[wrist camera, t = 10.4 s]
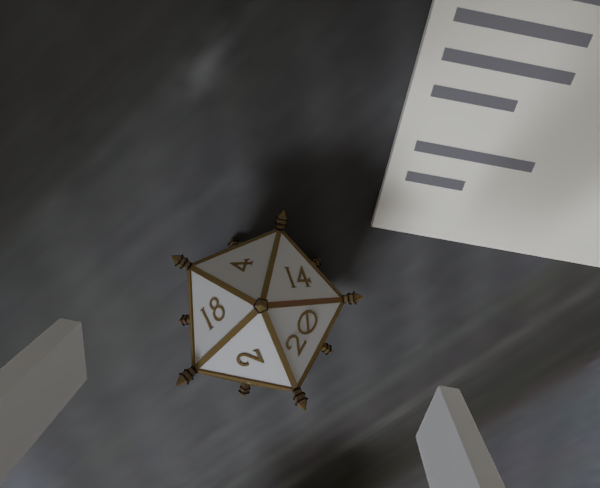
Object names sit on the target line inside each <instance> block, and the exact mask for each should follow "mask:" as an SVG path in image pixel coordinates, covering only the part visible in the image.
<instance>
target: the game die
mask: <svg viewBox="0 0 600 488" xmlns="http://www.w3.org/2000/svg"><path fill="white" fill-rule="evenodd" d="M276 218H277V220H276V222H275V223H276V229H274V230H272V231H269V232H267V233H264V234H262V235H259V236H257V237H255V238H252V239H250V240H247V241H245V242H242V243H240V244H238V240H233V239H231V240H230V243H229V244H228V245H229V246H230V248H228V249H225V250H223V251H220V252H218V253H216V254H213V255H211V256H208V257H206V258H203V259H201V260H199V261H196V262H194V263H190V262H189V260H188V258H185V257H183V254H182V255H171V256H172V258H173V260H174V262H175V266H179V267H180V269H181V268H184V269H187V272H188V294H189V315H187V314H186V315H182V317H181V318H180V320H179V322H180V323H182V324H183V326H184V325H186V324H187V325H188V324H190V338H191V360H192V366H191V368H189V369H184V372H182V373H179V378H178V381H177V384H176V386H177V385H183V384H189V381H190V380H191V379H192V380H193V377H194V375H195V374H196V373H201V374H205V375H209V376H214V377H218V378H222V379H226V380H230V381H235V382H239V383H242V385H241V386H240V389H239V392H240V393H241V395H242V396H243V397H244V396H245V395H247V394H249V393H250V392H249V390H250V385H254V386H261V387H267V388H274V389H280V390H287V391H292V392H293V393H294V398H293V400H295V402H296V404H295V405H297V406H299V407H300V408H302V409H303V410H305V411H306V404H307V400H308V398H306V397H305V393H304V392H302V390H301V388H300V387H301V385H302V383H303V381H304V380H305V378H306V376H307V374H308V372H309V370H310V369H311V367H312V365H313V363H314V361H315V359H316V358H317V356H318V354H319V352H320V350H322V352H323V353H325V354H326V355H327V354H329V353H333V352H332V348H331V345H328V343H325V341H326V339H327V337H328V335H329V332H330V330H331V328H332V326H333V324H334V322H335V320H336V318H337V316H338V314H339V312H340V310H341V308H342V306H343V304H344V303H349V304H350V305H351V304H352V303H355V304H356V303H357V302H358V301H359V300H360V299H362V298H363V296H361V295H359V294H357V293H355V291H354V292H353V293H350V292H349V293H348V294H347V295H342V294H341V293H340V292H339V291H338V290H337V289H336V288H335V286H334V285H333V284H332V283H331V282H330V281H329V280H328V279H327V278H326V277H325V276H324V274H323V273H322V272H321V271H320V270H319V269H318V268H317V267H318V266H319V265H321V263H320V261H321V258H315V257H314V258H313V260H310V259H309V258H308V257H307V256H306V255H305V254H304V253H303V252H302V250H301V249H300V248H299V247H298V246H297V245H296V244H295V243H294V242H293V241H292V240H291V238H290V237H289V236H288V235H287V234H286V233H285V232H284V231H283V228H284V227H285V226H286V225H287V224H286V221H288V219H287V218H286V215H285V212H284V210H283V211H282V212H281V213H280V214H279V215H278V216H277V217H276Z"/></svg>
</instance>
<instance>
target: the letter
mask: <svg viewBox="0 0 600 488" xmlns="http://www.w3.org/2000/svg"><path fill="white" fill-rule="evenodd" d="M371 226H372V227H377V228H382V229H388V230H393V231H399V232H405V233H410V234H416V235H421V236H427V237H433V238H438V239H444V240H450V241H455V242H461V243H466V244H472V245H478V246H483V247H489V248H494V249H500V250H506V251H511V252H517V253H522V254H528V255H534V256H539V257H545V258H551V259H556V260H562V261H567V262H573V263H579V264H584V265H590V266H595V267H600V0H432V4H431V7H430V11H429V15H428V18H427V22H426V26H425V29H424V33H423V36H422V40H421V44H420V47H419V51H418V55H417V58H416V62H415V65H414V69H413V73H412V76H411V80H410V84H409V87H408V91H407V94H406V98H405V102H404V105H403V109H402V113H401V116H400V120H399V124H398V127H397V131H396V134H395V138H394V142H393V145H392V149H391V153H390V156H389V160H388V163H387V167H386V171H385V174H384V178H383V182H382V185H381V189H380V192H379V196H378V200H377V203H376V207H375V211H374V214H373V218H372V222H371Z"/></svg>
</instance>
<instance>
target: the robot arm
mask: <svg viewBox="0 0 600 488" xmlns="http://www.w3.org/2000/svg"><path fill="white" fill-rule="evenodd" d="M86 380H87V373H86V363H85V354H84V344H83V334H82V324H81V322H79V321H73V320H67V319H62V318H60V319H58V320H57V321H56V322H55V323H54V324H53V325H51V326H50V327H49V328H48V329H47V330H46V331H44V332H43V333H42V334H41V335H40V336H38V337H37V338H36V339H35V340H34V341H33V342H31V343H30V344H29V345H28V346H27V347H26V348H24V349H23V350H22V351H21V352H20V353H18V354H17V355H16V356H15V357H14V358H13V359H11V360H10V361H9V362H8V363H7V364H5V365H4V366H3V367H2V368H1V369H0V484H1V482H2V481H3V480H4V479H5V478H6V476H7V475H8V474H9V473H10V472H11V470H12V469H13V468H14V467H15V466H16V464H17V463H18V462H19V461H20V460H21V458H22V457H23V456H24V455H25V453H26V452H27V451H28V450H29V449H30V447H31V446H32V445H33V444H34V443H35V441H36V440H37V439H38V438H39V437H40V435H41V434H42V433H43V432H44V431H45V429H46V428H47V427H48V426H49V425H50V423H51V422H52V421H53V420H54V418H55V417H56V416H57V415H58V414H59V412H60V411H61V410H62V409H63V408H64V406H65V405H66V404H67V403H68V402H69V400H70V399H71V398H72V397H73V396H74V394H75V393H76V392H77V391H78V389H79V388H80V387H81V386H82V385H83V383H84V382H85V381H86ZM416 440H417V444H418V447H419V451H420V454H421V458H422V462H423V465H424V469H425V473H426V476H427V480H428V483H429V487H430V488H505V485H504V483H503V481H502V479H501V477H500V475H499V473H498V471H497V468H496V466H495V464H494V462H493V460H492V458H491V456H490V454H489V451H488V449H487V447H486V445H485V443H484V441H483V439H482V437H481V434H480V432H479V430H478V428H477V426H476V424H475V422H474V420H473V417H472V415H471V413H470V411H469V409H468V407H467V405H466V403H465V400H464V398H463V396H462V394H461V392H460V390H459V389H456V388H451V387H445V386H438V388H437V390H436V392H435V395H434V397H433V399H432V401H431V403H430V406H429V408H428V410H427V412H426V414H425V417H424V419H423V421H422V423H421V425H420V428H419V430H418V432H417V434H416Z"/></svg>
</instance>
